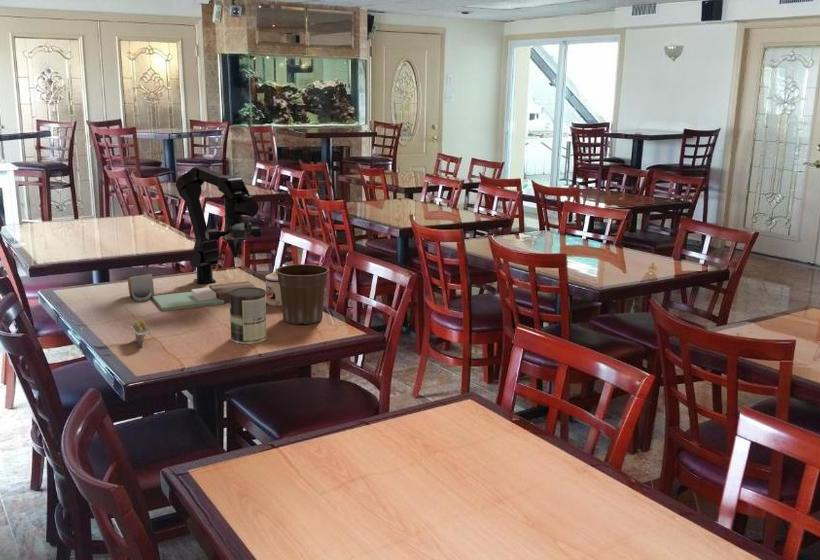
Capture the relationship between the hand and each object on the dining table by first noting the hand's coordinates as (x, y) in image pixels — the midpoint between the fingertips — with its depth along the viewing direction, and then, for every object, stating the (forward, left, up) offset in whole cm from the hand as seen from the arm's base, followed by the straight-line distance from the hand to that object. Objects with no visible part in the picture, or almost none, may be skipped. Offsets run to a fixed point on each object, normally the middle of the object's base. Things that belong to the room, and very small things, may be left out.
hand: (234, 257), depth 274 cm
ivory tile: (+8, -13, -11) cm, 19 cm away
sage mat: (+7, -19, -12) cm, 23 cm away
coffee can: (+54, -13, -12) cm, 57 cm away
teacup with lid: (+23, +8, -12) cm, 28 cm away
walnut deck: (+7, -3, -12) cm, 14 cm away
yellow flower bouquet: (+45, -41, -13) cm, 62 cm away
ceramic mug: (-4, -31, -12) cm, 34 cm away
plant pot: (+43, +8, -12) cm, 46 cm away
